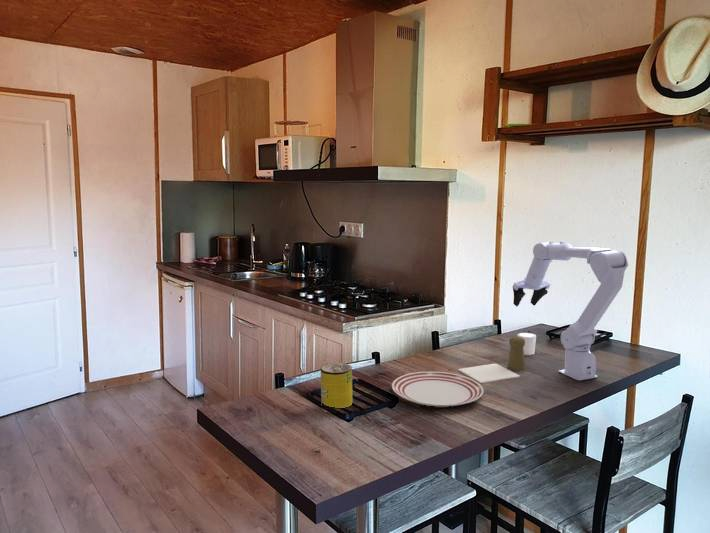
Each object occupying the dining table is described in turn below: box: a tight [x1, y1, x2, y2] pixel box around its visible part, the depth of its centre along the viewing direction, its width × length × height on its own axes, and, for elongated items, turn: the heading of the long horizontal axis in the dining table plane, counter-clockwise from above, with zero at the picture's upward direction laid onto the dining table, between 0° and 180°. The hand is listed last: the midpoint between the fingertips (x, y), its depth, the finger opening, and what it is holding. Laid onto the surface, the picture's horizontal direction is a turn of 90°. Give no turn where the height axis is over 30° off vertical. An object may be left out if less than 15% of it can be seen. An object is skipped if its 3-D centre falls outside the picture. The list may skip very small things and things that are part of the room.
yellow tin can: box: [320, 362, 354, 408], centre depth 158 cm, size 9×9×12 cm
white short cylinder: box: [516, 332, 537, 356], centre depth 206 cm, size 7×7×7 cm
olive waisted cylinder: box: [507, 336, 527, 372], centre depth 189 cm, size 6×6×11 cm
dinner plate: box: [391, 371, 484, 408], centre depth 166 cm, size 27×27×3 cm
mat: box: [457, 363, 521, 385], centre depth 184 cm, size 14×15×1 cm
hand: (524, 304), depth 201 cm, fingers open, 7 cm apart
